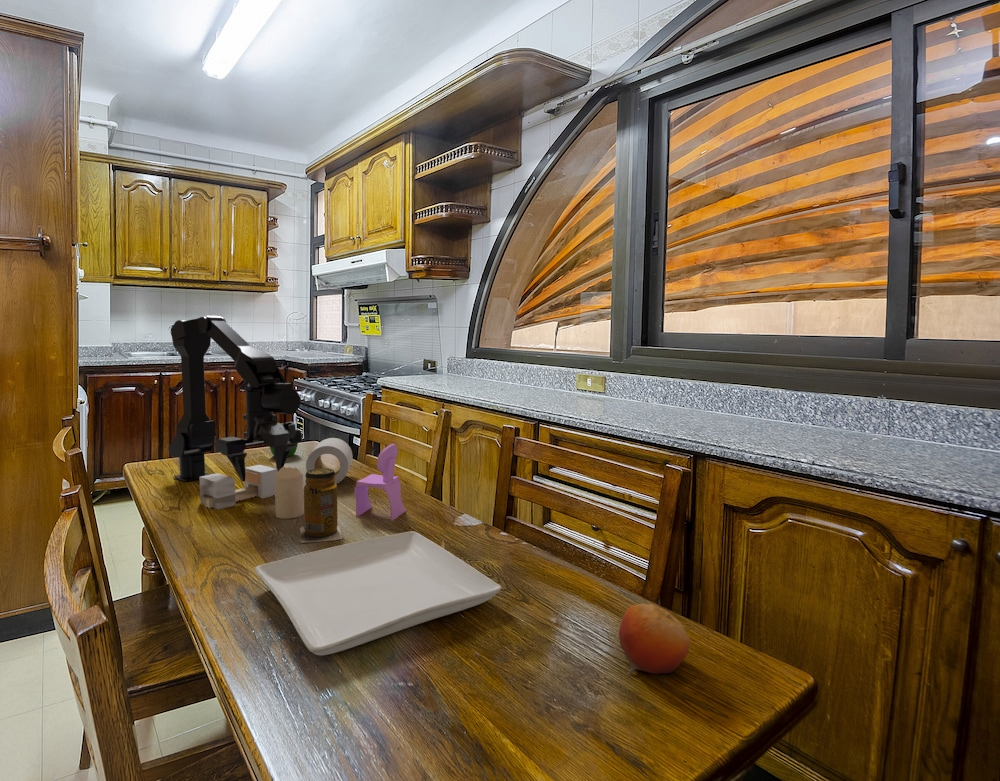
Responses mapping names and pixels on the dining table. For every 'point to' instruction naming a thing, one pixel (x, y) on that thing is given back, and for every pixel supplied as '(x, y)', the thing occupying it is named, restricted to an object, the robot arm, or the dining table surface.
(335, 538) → the condiment
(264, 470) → the white block orange stripe
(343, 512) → the dining table surface
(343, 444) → the toilet paper
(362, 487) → the toy chair
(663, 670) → the fruit
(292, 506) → the candle
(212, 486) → the grey block with bar
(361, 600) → the square plate
